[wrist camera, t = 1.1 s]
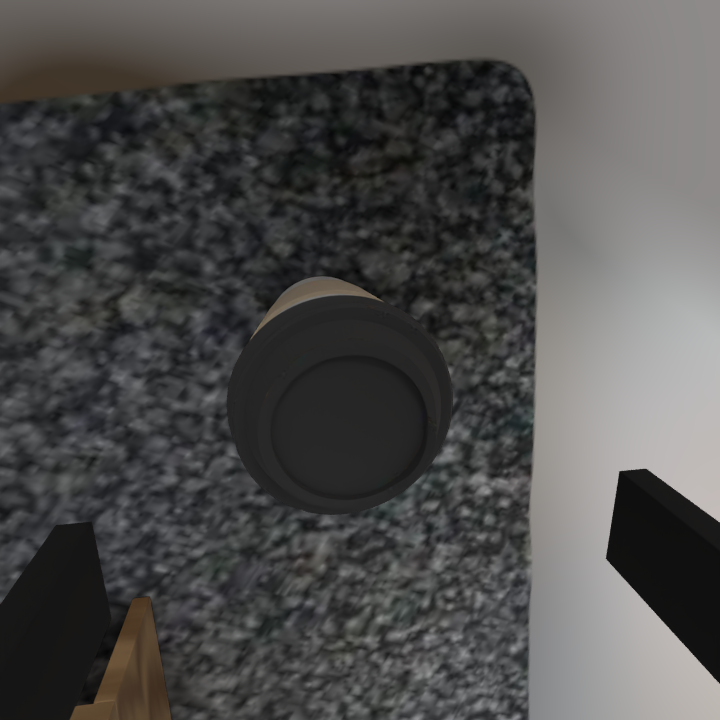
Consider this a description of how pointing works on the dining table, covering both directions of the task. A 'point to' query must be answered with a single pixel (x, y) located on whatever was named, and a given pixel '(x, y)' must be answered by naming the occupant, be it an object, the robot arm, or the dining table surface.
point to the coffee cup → (338, 399)
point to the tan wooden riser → (132, 674)
